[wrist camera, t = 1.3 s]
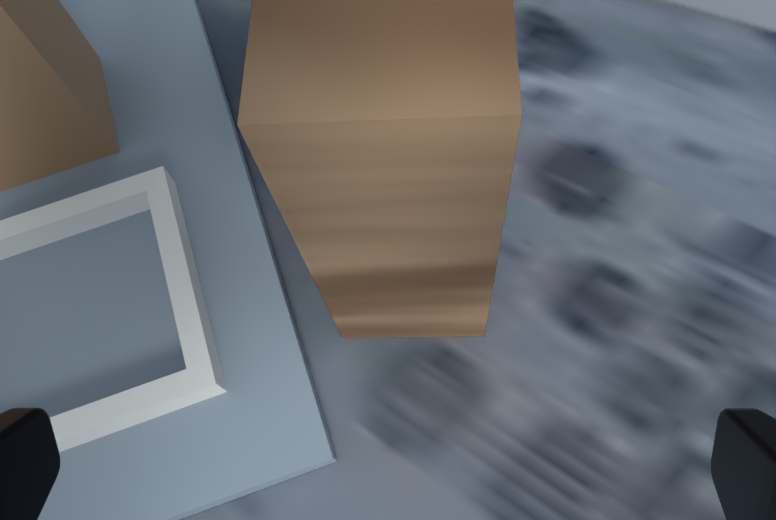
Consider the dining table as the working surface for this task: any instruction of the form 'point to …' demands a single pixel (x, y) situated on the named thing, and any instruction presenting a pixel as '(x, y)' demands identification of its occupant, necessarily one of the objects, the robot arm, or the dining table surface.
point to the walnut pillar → (388, 152)
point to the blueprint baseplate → (141, 268)
